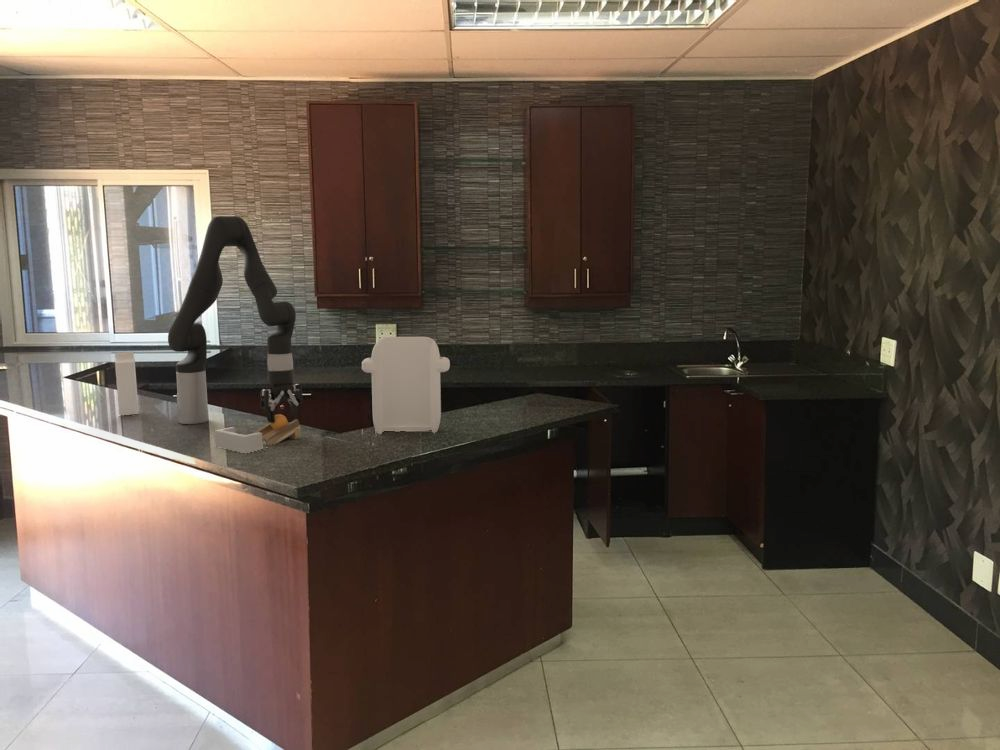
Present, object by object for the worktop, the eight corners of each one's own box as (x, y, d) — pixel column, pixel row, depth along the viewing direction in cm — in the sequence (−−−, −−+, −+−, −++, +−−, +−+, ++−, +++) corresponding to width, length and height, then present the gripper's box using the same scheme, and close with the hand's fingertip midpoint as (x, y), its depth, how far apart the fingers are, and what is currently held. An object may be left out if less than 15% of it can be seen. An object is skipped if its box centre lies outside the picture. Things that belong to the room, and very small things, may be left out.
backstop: (215, 447, 244) (214, 430, 243) (233, 443, 248) (232, 426, 248) (245, 454, 235) (244, 436, 235) (262, 449, 240) (261, 432, 239)
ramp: (249, 445, 250) (248, 423, 249) (283, 437, 260) (282, 415, 259) (266, 449, 245) (265, 426, 244) (301, 440, 255) (300, 419, 254)
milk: (137, 415, 290) (133, 353, 287) (118, 416, 288) (114, 353, 285) (138, 412, 296) (134, 350, 292) (120, 413, 294) (115, 351, 290)
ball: (272, 432, 254) (264, 421, 251) (283, 421, 257) (275, 410, 254) (283, 435, 251) (275, 423, 249) (293, 423, 254) (285, 411, 251)
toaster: (451, 426, 271) (449, 334, 266) (450, 434, 259) (448, 338, 255) (367, 427, 270) (364, 335, 265) (362, 435, 259) (359, 339, 254)
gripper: (291, 364, 259) (293, 414, 262) (253, 369, 248) (255, 422, 251) (306, 366, 255) (309, 417, 257) (269, 371, 244) (271, 425, 246)
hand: (282, 420), depth 254 cm, fingers open, 8 cm apart
